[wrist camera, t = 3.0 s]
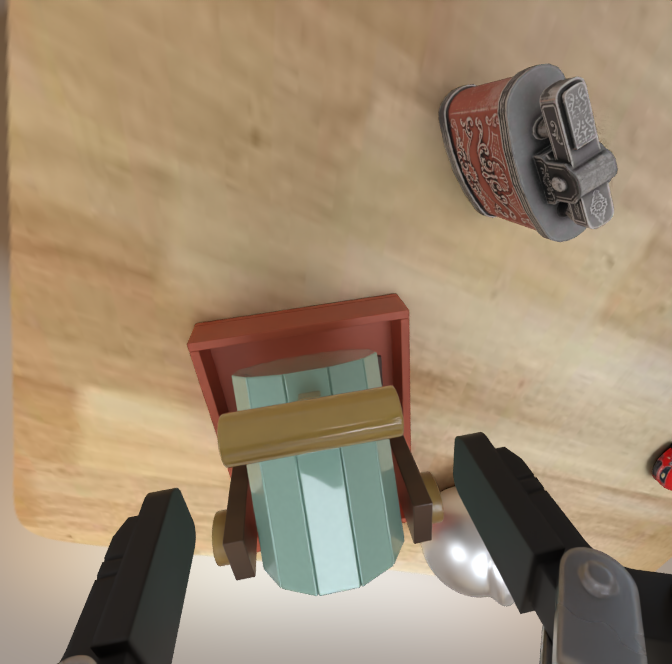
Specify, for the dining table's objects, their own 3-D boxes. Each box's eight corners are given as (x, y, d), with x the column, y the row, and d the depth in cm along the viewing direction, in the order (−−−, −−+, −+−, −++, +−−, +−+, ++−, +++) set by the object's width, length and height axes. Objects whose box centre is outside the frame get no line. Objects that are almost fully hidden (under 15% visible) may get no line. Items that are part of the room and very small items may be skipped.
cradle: (228, 375, 28) (198, 527, 17) (382, 350, 29) (448, 479, 18) (245, 436, 31) (229, 599, 20) (385, 411, 32) (443, 555, 21)
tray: (195, 323, 26) (186, 344, 23) (396, 293, 27) (409, 309, 24) (256, 522, 36) (255, 552, 33) (402, 494, 37) (411, 521, 34)
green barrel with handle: (187, 408, 12) (240, 711, 12) (418, 370, 12) (460, 660, 13) (245, 364, 23) (271, 520, 24) (362, 345, 24) (385, 497, 24)
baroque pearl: (492, 516, 41) (553, 621, 32) (407, 533, 40) (445, 645, 31) (501, 455, 36) (574, 556, 28) (406, 473, 36) (449, 582, 27)
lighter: (521, 196, 25) (653, 228, 16) (475, 225, 26) (580, 271, 17) (477, 72, 22) (617, 26, 13) (426, 108, 22) (526, 88, 13)
